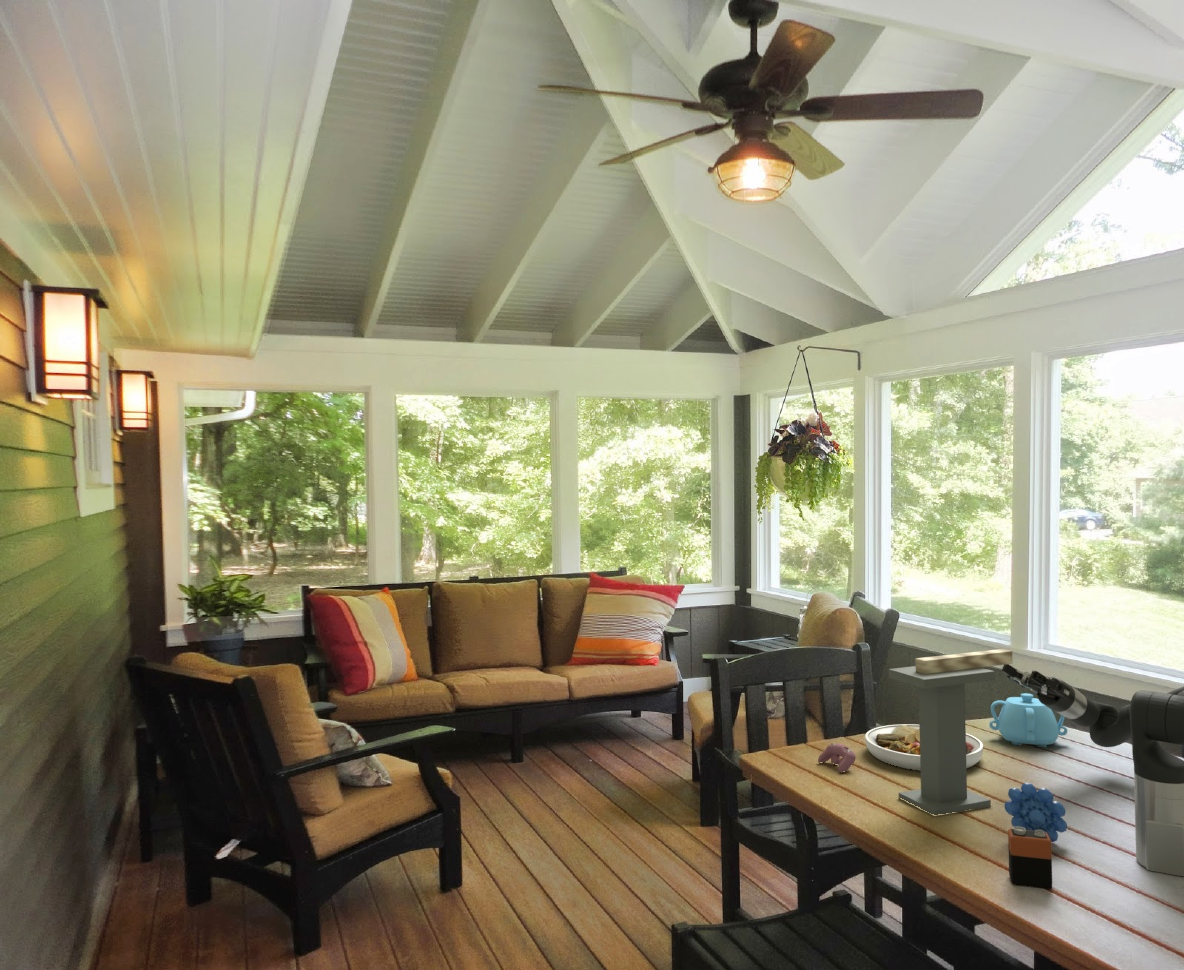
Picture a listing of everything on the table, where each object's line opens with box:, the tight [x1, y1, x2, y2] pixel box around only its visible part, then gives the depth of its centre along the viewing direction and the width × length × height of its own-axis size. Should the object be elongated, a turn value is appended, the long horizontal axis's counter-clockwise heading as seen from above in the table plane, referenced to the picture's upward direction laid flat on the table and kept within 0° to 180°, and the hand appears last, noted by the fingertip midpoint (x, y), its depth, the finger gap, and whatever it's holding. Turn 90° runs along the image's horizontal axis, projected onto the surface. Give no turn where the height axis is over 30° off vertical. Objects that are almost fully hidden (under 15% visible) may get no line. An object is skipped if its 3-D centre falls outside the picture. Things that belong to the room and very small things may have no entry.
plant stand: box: [888, 665, 996, 815], centre depth 200 cm, size 20×12×31 cm, turn 110°
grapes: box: [1003, 782, 1068, 843], centre depth 177 cm, size 12×7×12 cm, turn 68°
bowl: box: [864, 723, 984, 772], centre depth 233 cm, size 30×30×8 cm
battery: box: [1007, 826, 1053, 890], centre depth 160 cm, size 4×7×10 cm, turn 71°
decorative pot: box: [989, 692, 1068, 748], centre depth 245 cm, size 16×16×14 cm
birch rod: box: [915, 648, 1014, 674], centre depth 202 cm, size 26×3×3 cm, turn 110°
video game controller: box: [817, 742, 857, 773], centre depth 227 cm, size 10×5×7 cm, turn 22°
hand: (1017, 670), depth 209 cm, fingers open, 8 cm apart
